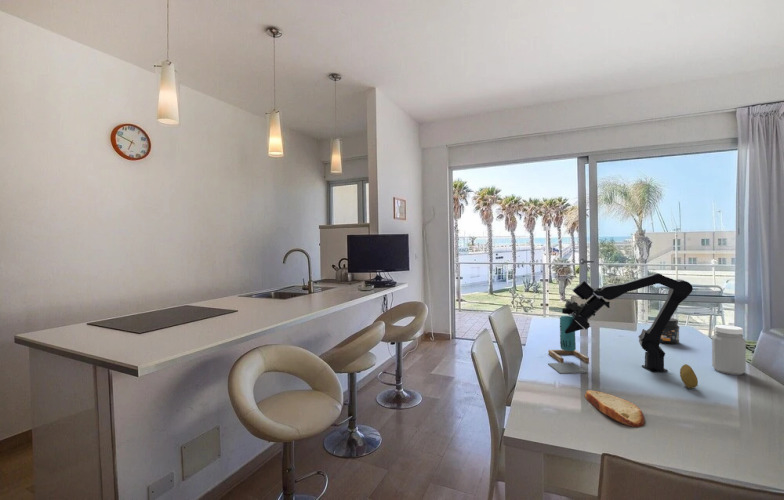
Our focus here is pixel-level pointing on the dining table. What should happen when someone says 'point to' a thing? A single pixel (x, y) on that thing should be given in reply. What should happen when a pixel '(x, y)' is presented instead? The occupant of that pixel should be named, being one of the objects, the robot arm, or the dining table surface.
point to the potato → (688, 376)
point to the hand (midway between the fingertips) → (564, 331)
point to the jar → (729, 350)
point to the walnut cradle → (556, 353)
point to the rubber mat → (566, 368)
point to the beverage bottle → (565, 339)
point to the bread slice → (616, 408)
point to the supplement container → (670, 332)
